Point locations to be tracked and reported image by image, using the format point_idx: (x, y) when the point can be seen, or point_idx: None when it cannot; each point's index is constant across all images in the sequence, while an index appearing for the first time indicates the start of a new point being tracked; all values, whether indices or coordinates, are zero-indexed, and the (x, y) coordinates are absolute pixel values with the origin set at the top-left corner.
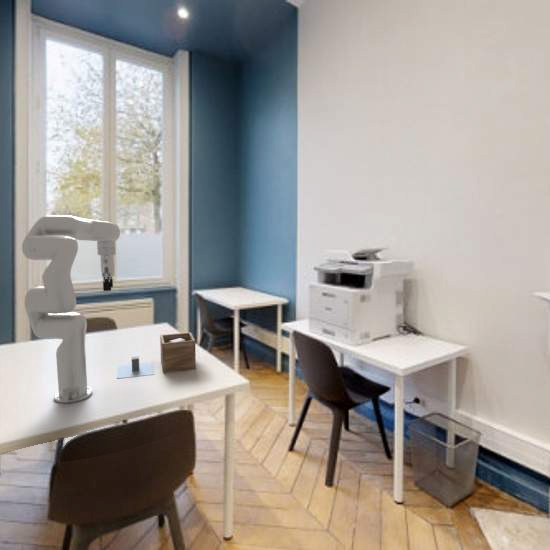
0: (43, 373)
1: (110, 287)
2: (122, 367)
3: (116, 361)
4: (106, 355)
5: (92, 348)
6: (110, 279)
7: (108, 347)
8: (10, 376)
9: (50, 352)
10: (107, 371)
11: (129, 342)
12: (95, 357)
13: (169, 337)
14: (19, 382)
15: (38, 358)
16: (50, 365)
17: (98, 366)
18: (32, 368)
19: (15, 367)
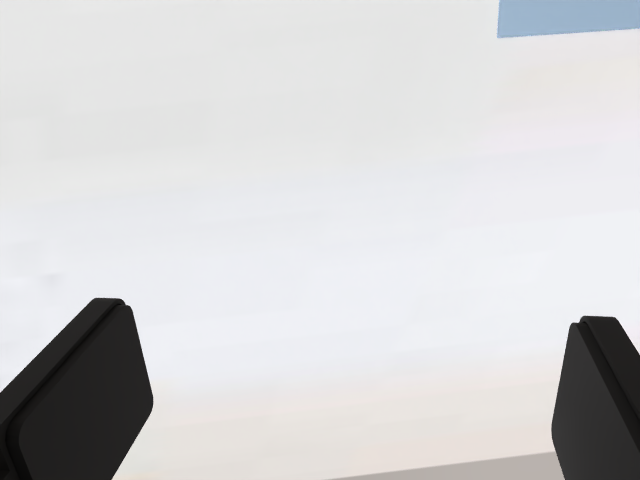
0: (465, 359)
1: (637, 368)
2: (536, 6)
3: (399, 56)
4: (274, 125)
5: (140, 210)
6: (33, 464)
7: (129, 129)
8: (455, 449)
9: (182, 370)
10: (561, 90)
11: (34, 8)
12: (296, 178)
13: None
14: (541, 416)
15: (257, 398)
16: (365, 348)
17: (455, 147)
18: (383, 400)
19: (352, 449)
